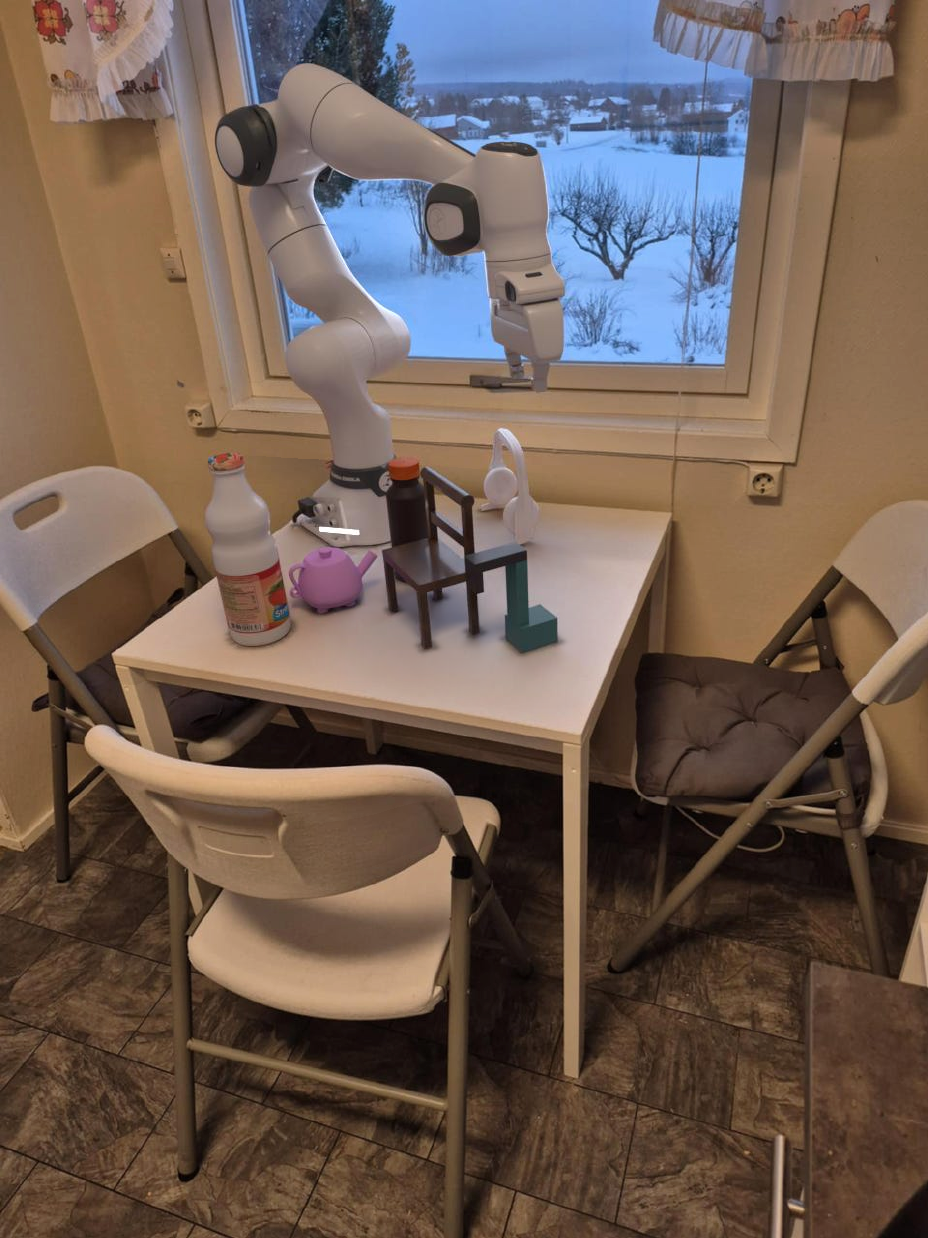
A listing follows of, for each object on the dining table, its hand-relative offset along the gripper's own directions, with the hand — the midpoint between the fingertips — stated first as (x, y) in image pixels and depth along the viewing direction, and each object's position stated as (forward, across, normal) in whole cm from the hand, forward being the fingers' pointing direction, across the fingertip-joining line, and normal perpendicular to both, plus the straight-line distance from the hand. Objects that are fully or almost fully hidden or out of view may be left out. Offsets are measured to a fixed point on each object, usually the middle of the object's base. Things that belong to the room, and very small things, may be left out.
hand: (528, 384), depth 120 cm
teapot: (+32, -11, -32) cm, 46 cm away
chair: (+33, +1, -19) cm, 38 cm away
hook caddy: (+34, +12, -9) cm, 37 cm away
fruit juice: (+32, -6, -44) cm, 55 cm away
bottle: (+32, -16, -18) cm, 40 cm away
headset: (+33, -28, +4) cm, 44 cm away
